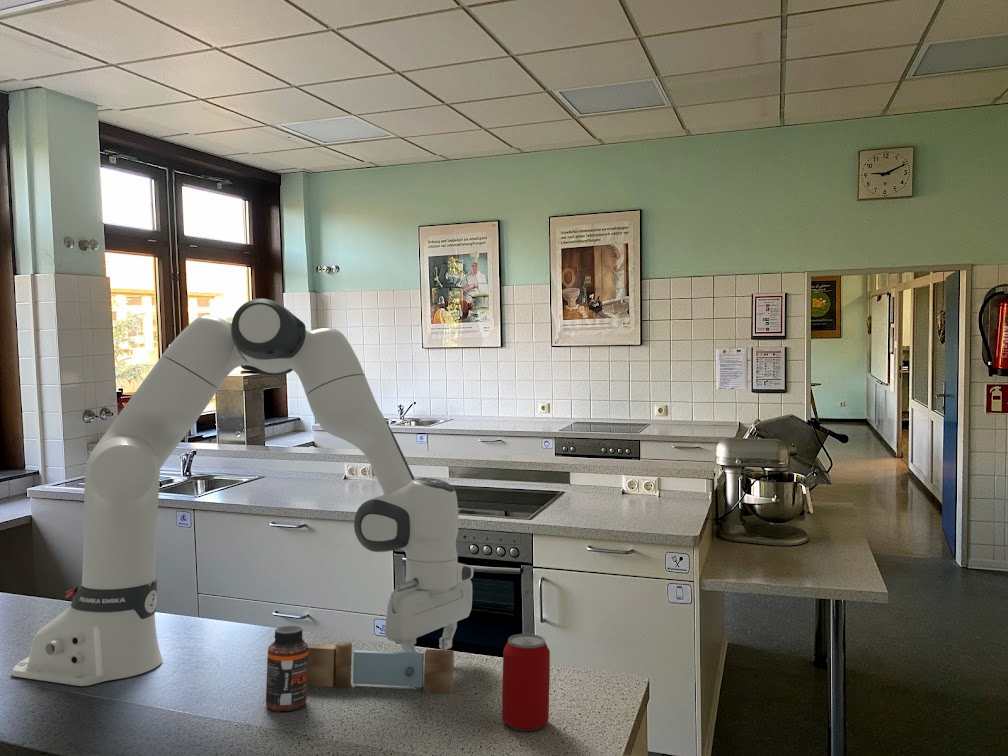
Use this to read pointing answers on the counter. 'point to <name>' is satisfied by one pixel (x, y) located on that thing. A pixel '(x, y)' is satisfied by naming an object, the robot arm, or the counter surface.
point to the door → (388, 668)
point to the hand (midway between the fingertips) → (429, 655)
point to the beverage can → (525, 682)
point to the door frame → (335, 661)
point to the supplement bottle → (287, 670)
